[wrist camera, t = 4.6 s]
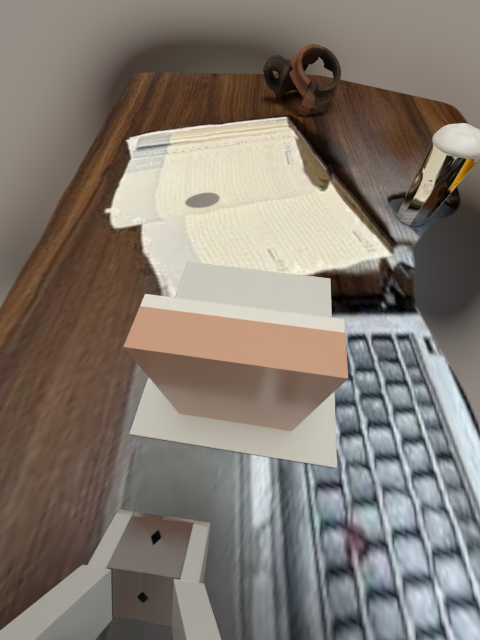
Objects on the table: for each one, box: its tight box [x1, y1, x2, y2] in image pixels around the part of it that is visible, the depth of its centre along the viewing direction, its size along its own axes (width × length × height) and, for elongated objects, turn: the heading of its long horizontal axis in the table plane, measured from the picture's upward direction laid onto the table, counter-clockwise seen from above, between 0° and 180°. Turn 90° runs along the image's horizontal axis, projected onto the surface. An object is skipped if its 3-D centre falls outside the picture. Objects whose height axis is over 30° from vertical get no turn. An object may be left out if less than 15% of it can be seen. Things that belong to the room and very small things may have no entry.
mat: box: [130, 262, 337, 468], centre depth 22 cm, size 16×14×1 cm
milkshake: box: [397, 123, 480, 227], centre depth 27 cm, size 4×5×10 cm
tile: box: [124, 294, 348, 431], centre depth 15 cm, size 2×8×11 cm, turn 82°
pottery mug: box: [263, 44, 341, 117], centre depth 44 cm, size 12×10×8 cm
